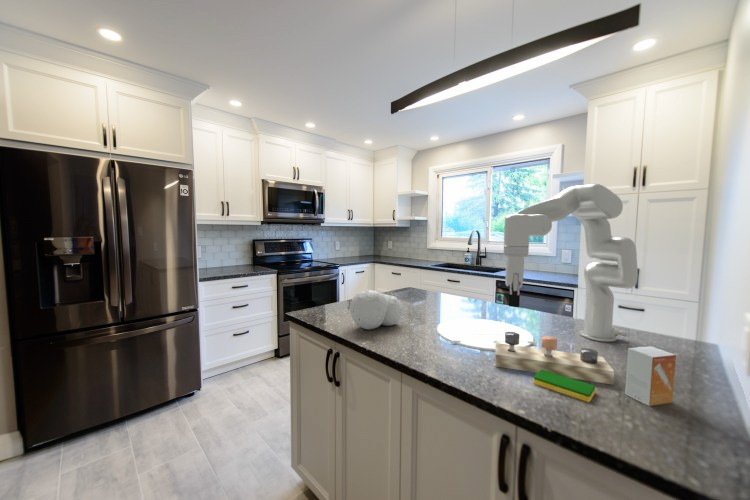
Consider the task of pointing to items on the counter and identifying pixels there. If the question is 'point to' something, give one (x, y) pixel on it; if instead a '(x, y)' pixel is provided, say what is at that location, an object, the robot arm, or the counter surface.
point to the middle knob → (549, 344)
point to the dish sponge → (565, 385)
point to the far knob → (511, 340)
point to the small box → (650, 375)
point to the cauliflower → (375, 309)
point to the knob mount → (553, 363)
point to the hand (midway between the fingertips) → (513, 306)
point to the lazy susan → (481, 333)
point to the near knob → (588, 355)
